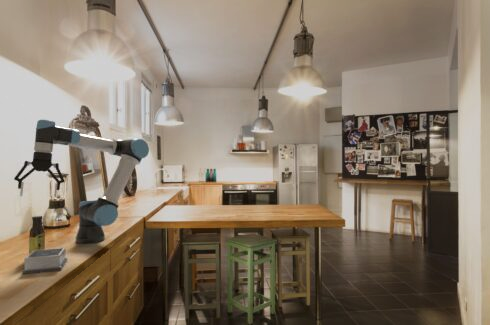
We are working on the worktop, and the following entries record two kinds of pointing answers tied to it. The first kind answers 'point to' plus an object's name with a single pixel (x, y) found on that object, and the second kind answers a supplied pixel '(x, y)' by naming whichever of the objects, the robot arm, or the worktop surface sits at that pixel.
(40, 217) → the sauce bottle
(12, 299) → the worktop surface
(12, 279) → the worktop surface
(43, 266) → the open gray square box
